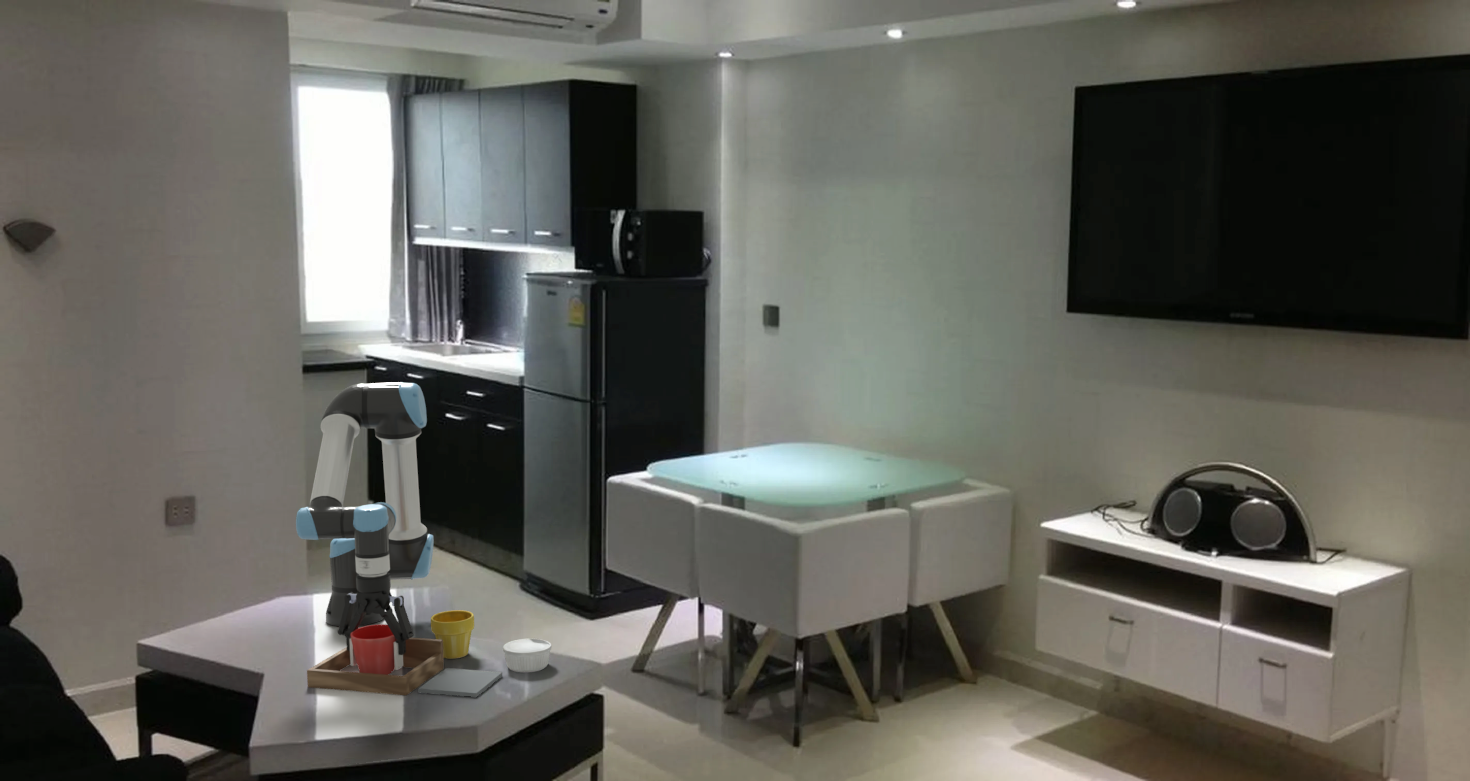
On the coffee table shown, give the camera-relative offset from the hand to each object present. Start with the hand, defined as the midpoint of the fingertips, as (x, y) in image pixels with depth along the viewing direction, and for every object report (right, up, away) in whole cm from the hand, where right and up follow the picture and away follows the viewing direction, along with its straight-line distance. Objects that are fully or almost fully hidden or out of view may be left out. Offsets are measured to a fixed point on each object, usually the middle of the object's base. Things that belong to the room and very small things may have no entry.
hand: (376, 665), depth 292 cm
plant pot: (+14, -1, +16) cm, 21 cm away
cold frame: (0, -3, 0) cm, 3 cm away
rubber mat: (+20, -3, -5) cm, 21 cm away
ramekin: (+34, -2, +7) cm, 35 cm away
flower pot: (0, -2, 0) cm, 2 cm away
